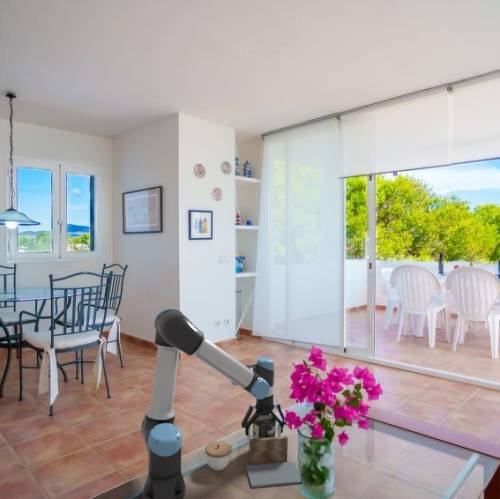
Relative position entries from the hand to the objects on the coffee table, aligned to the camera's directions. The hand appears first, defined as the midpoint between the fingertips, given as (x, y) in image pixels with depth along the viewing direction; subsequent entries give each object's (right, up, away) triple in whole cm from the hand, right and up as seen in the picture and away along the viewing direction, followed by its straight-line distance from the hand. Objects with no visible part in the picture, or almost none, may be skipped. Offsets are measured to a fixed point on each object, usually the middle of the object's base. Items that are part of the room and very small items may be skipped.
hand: (263, 441), depth 175 cm
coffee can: (0, -4, 0) cm, 4 cm away
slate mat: (+3, -5, -17) cm, 18 cm away
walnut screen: (+1, -5, -9) cm, 10 cm away
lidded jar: (-19, -4, -13) cm, 23 cm away
